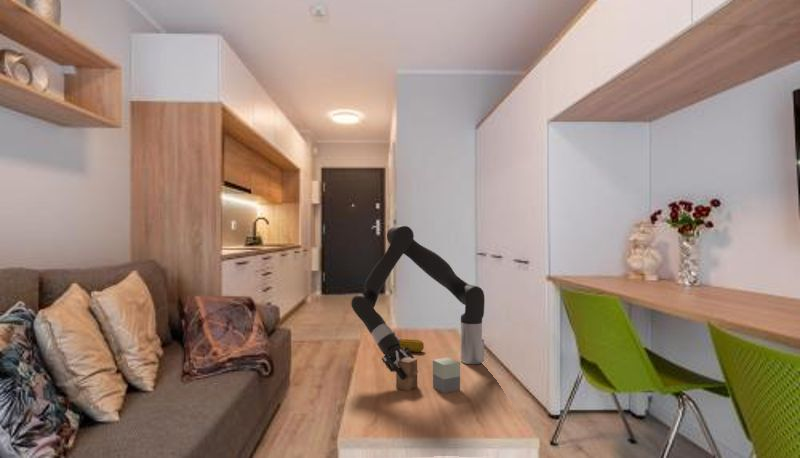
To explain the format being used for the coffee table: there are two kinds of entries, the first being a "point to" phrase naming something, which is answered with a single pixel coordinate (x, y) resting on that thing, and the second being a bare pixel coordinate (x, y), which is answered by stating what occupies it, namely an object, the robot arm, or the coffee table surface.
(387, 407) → the coffee table surface
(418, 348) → the food
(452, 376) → the tower top
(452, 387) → the tower base
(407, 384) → the walnut block
